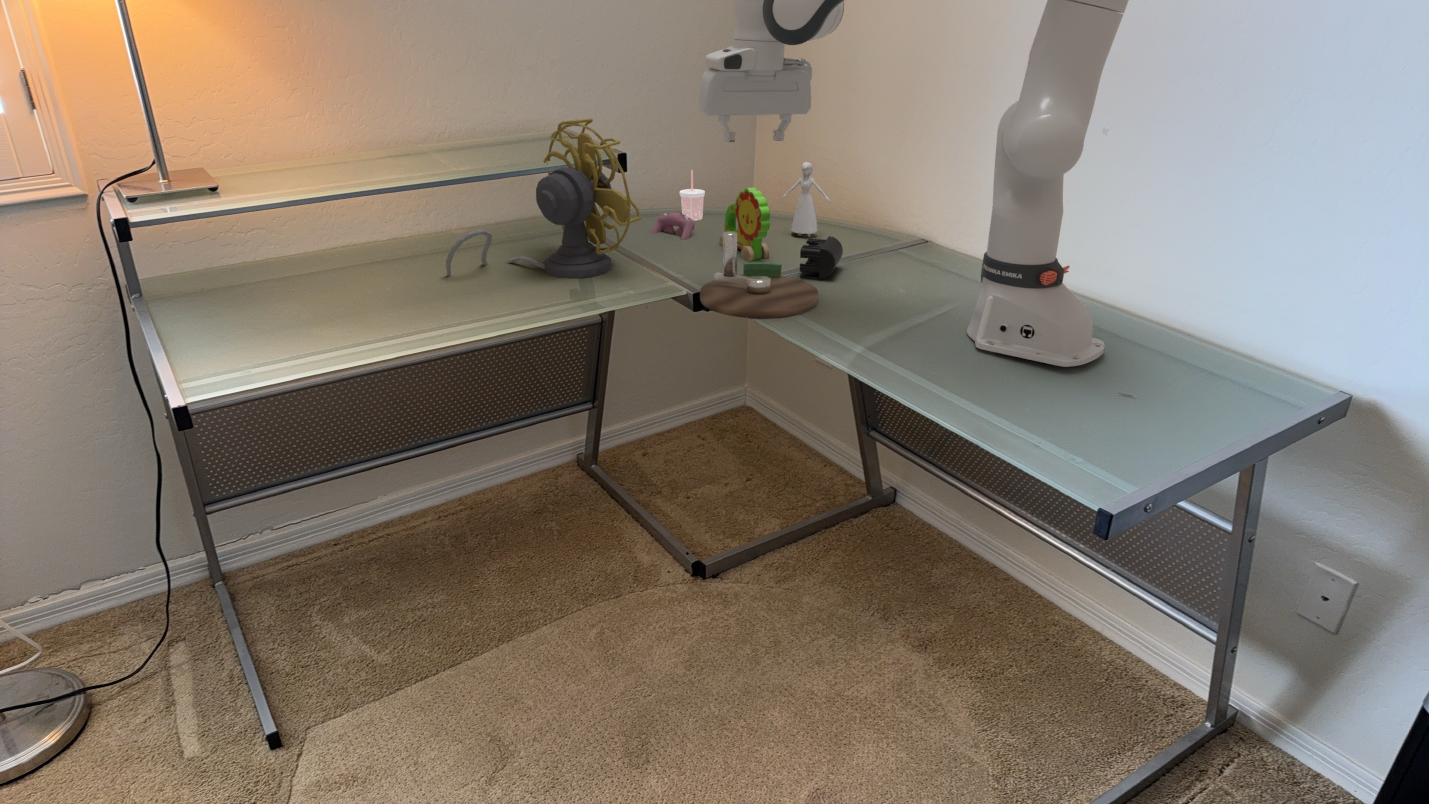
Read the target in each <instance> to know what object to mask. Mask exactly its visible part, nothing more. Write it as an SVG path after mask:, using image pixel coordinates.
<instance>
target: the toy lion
mask: <svg viewBox="0 0 1429 804" xmlns="http://www.w3.org/2000/svg"><path fill="white" fill-rule="evenodd" d="M770 218H771V211H770V208H769V204H768V200H767V198H766V197H764V194H763V193H762V191H760V190H758V189H757V188H756V187H747V188H744V190H741V191H740V192H739V194H738V195H737V197H736V199H735V202H734V203H732V204H730V205H729V206H728V207H727V209H726V211H725V216H724V232H729V231H732V232H737V249H740V256H741V257H740V258H742V259H743V260H745V261H747V262H753V261H754V260H758V259H763V260H765V259H769V257H770V249H769V247H768V245H767V243H765V242H763V239H765V238H766V237H767V235H768V231H769V229H770V228H771V221H770ZM736 223H737V224H736ZM719 246H721V247H723V235H721V236H720V237H719Z"/></svg>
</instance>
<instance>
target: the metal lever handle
mask: <svg viewBox="0 0 1429 804" xmlns="http://www.w3.org/2000/svg"><path fill="white" fill-rule="evenodd" d="M722 236H723V246H722V272H718V271H717V272H715V273H714V274H713V280H717V281H724V282H731V283H738V284H745V285H747V290H748V291H749V292H752V293H767V292H769V291H771V278H769V277H766V276H752V277H747V276H740V275H741V274H738V248H737V232H732V231H729V232H725V231H724V232H723V234H722Z"/></svg>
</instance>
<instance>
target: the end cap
mask: <svg viewBox="0 0 1429 804" xmlns="http://www.w3.org/2000/svg"><path fill="white" fill-rule="evenodd" d="M805 243H806V244H804V245H802V246H801V247H800V252H799V253H800V255H799V258H801V259H807V260H806V261H805V263H800V264H799V272H800V274H799V278H800V280H814V281H822V280H824V279H825V278H827V277H828V276H830V275H831V274H832V273H833V272H834V270H835V268H836V267H837V266H838V264H839V262H840V261H841V259H842V257H843V253H844V250H843V249H844V248H843V245H842V243H841V242H840V240H839V239H838V238H836V237H834V236H830V235H828V237H827V238H826V239H824V238H823V239H821V238H807V240H806V241H805Z"/></svg>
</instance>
